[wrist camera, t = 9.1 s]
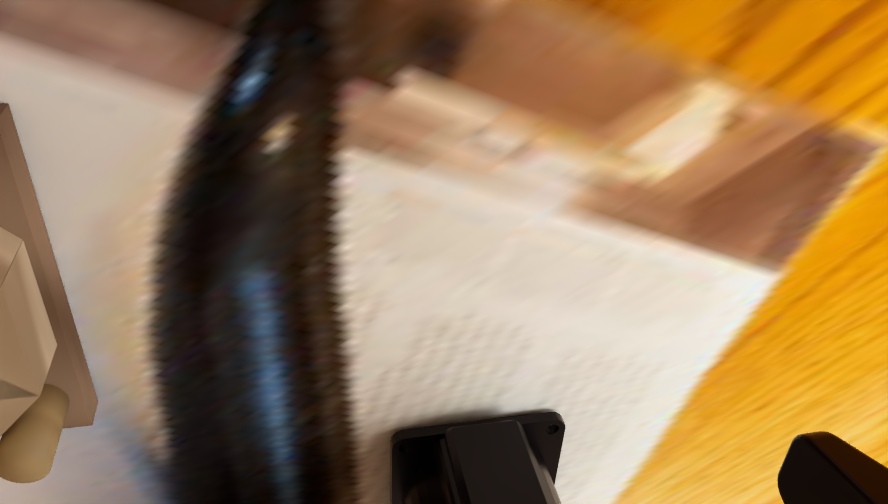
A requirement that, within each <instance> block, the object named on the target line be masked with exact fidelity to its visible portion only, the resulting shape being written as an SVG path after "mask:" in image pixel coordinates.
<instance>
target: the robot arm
mask: <svg viewBox="0 0 888 504" xmlns="http://www.w3.org/2000/svg"><path fill="white" fill-rule="evenodd" d="M564 432H565V424H564V421H563V419H562V417H561V415H560V414H558V413H556V412H548V413H539V414H531V415H523V416H515V417H506V418H498V419H490V420H482V421H473V422H465V423H457V424H449V425H440V426H432V427H424V428H416V429H408V430H402V431H398V432H397V433H395V434H394V435H393V436H392V437H391V440H390V504H561V502H560V499H559V497H558V494H557V492H556V489H555V487H554V484H555V479H556V473H557V468H558V463H559V458H560V452H561V447H562V442H563V437H564ZM404 443H407V444H404ZM778 488H779V492H780V495H781V497H782V500H783V502H784V504H888V468H887V467H885V466H883V465H882V464H880V463H879V462H877V461H875V460H874V459H872V458H871V457H869V456H867V455H866V454H864V453H863V452H861V451H859V450H858V449H856V448H855V447H853V446H851V445H850V444H848V443H847V442H845V441H843V440H842V439H840V438H839V437H837V436H835V435H833V434H831V433H829V432H822V431H820V432H813V433H806V434H800V435H798V436H796V437H795V438H794V439H793V441H792V443H791V445H790V447H789V450H788V452H787V454H786V457H785V459H784V461H783V464H782V466H781V468H780V471H779V474H778Z"/></svg>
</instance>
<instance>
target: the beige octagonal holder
mask: <svg viewBox="0 0 888 504" xmlns="http://www.w3.org/2000/svg"><path fill="white" fill-rule="evenodd" d="M97 404H98V400H97V396H96V393H95V390H94V386H93V383H92V380H91V376H90V373H89V370H88V366H87V363H86V360H85V356H84V353H83V350H82V346H81V343H80V340H79V336H78V333H77V330H76V327H75V323H74V320H73V317H72V313H71V310H70V307H69V303H68V300H67V297H66V293H65V290H64V287H63V283H62V280H61V277H60V273H59V270H58V267H57V263H56V260H55V257H54V253H53V250H52V247H51V243H50V240H49V237H48V234H47V230H46V227H45V224H44V220H43V217H42V214H41V210H40V207H39V204H38V200H37V197H36V194H35V190H34V187H33V184H32V180H31V177H30V174H29V170H28V167H27V164H26V160H25V157H24V154H23V151H22V147H21V144H20V141H19V137H18V134H17V131H16V127H15V124H14V121H13V117H12V114H11V111H10V107H9V104H0V436H1V435H2V437H1V440H0V477H2V478H3V479H6V480H8V481H11V482H16V483H30V482H35V481H38V480H40V479H42V478H44V477H45V476H46V475H47V474H48V473H49V472H50V469H51V466H52V463H53V459H54V456H55V452H56V449H57V445H58V442H59V438H60V435H61V431H62V428H71V427H80V426H89V425H92V424H93V420H94V416H95V412H96V408H97Z"/></svg>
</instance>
